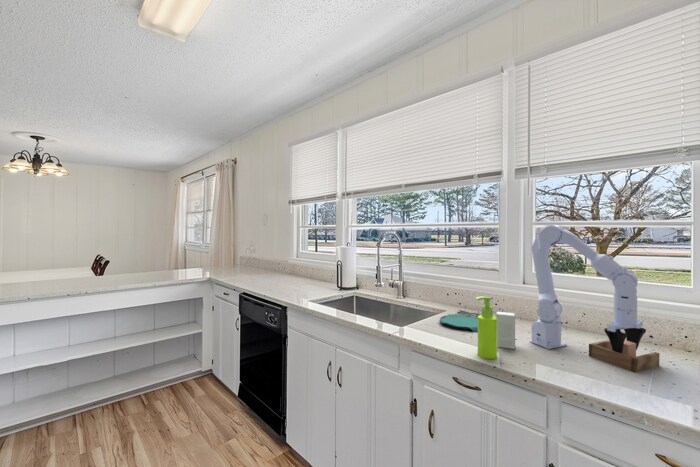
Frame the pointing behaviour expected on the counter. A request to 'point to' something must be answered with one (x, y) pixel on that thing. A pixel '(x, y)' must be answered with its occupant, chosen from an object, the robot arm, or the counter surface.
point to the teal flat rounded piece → (461, 320)
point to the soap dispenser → (487, 330)
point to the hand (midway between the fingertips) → (624, 350)
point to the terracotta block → (629, 348)
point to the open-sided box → (623, 357)
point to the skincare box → (505, 330)
